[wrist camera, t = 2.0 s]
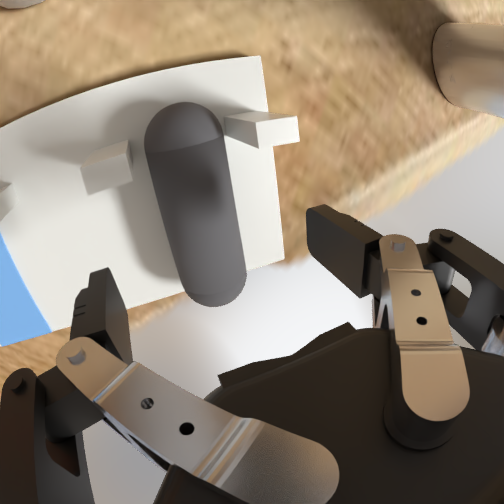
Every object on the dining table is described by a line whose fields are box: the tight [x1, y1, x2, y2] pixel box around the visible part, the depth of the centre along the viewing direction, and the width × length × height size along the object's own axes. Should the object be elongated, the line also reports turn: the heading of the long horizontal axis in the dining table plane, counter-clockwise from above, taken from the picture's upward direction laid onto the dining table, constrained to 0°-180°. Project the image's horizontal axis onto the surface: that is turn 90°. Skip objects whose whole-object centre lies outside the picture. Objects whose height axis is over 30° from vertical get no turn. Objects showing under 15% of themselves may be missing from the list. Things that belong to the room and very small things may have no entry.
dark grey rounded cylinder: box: [144, 102, 247, 307], centre depth 17 cm, size 12×4×4 cm, turn 8°
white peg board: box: [0, 56, 299, 347], centre depth 14 cm, size 26×14×7 cm, turn 98°
